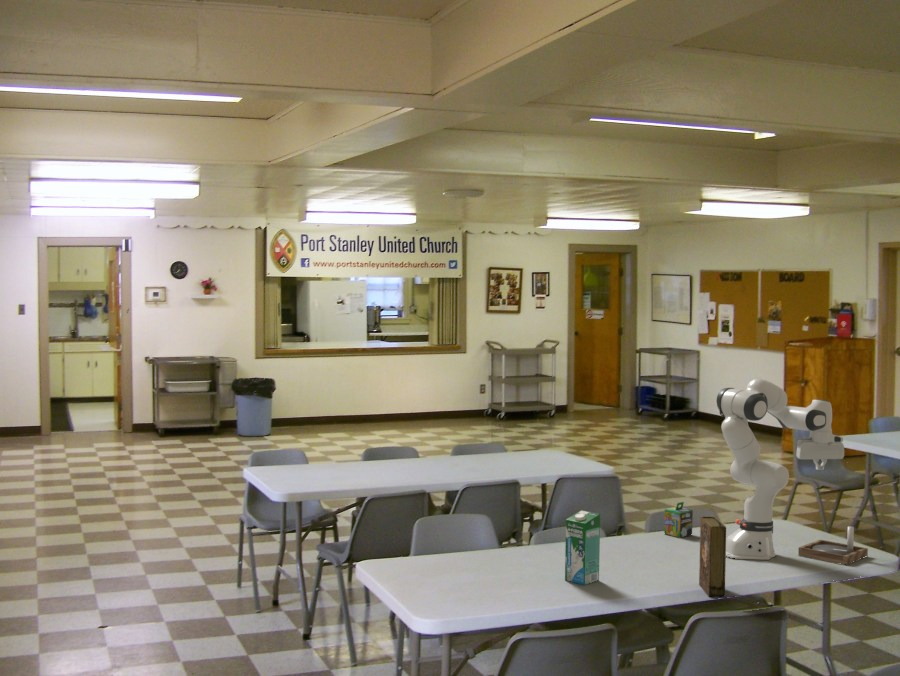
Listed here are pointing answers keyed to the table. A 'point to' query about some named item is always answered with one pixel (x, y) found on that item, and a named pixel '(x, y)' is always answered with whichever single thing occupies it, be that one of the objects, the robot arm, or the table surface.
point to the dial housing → (832, 557)
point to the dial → (839, 549)
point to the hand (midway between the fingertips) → (819, 469)
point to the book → (712, 556)
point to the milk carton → (582, 547)
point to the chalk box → (678, 521)
